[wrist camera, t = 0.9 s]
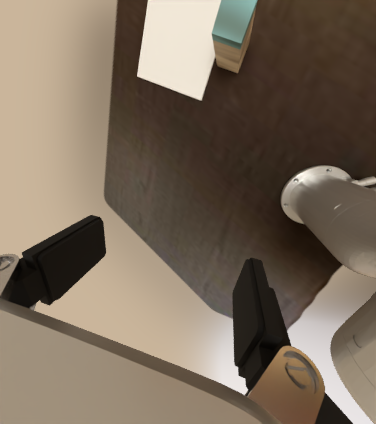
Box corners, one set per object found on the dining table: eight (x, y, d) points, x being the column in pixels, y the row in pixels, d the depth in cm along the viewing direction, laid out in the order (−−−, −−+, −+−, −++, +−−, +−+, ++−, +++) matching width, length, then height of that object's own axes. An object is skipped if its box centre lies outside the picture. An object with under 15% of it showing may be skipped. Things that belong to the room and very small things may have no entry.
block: (226, 36, 27) (225, -13, 18) (248, 44, 27) (257, -3, 18) (217, 66, 29) (211, 33, 20) (237, 73, 29) (241, 43, 20)
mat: (166, -111, 23) (165, -117, 22) (260, -84, 22) (260, -90, 21) (138, 77, 33) (137, 76, 32) (201, 101, 32) (201, 100, 31)
